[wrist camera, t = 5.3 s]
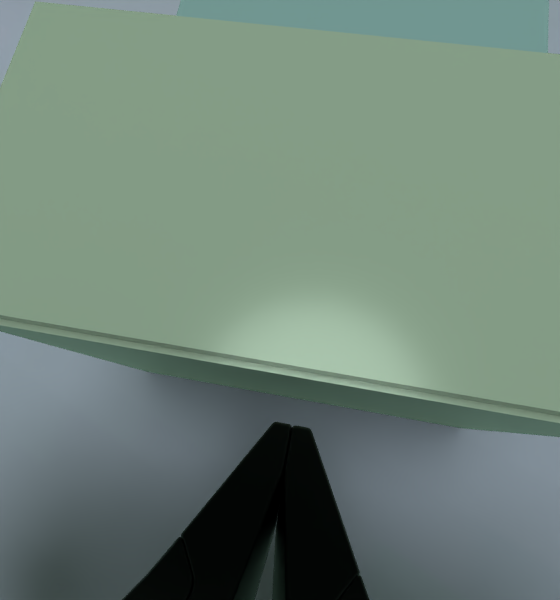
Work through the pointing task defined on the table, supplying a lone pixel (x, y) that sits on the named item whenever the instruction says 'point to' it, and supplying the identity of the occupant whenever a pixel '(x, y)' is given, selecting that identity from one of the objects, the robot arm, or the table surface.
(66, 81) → the green book
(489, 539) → the table surface
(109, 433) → the table surface
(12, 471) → the table surface
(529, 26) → the blue book
